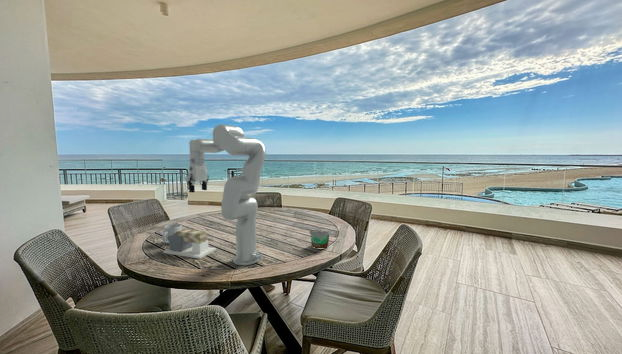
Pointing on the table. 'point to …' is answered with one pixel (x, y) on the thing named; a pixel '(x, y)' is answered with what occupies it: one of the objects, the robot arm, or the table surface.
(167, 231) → the mug
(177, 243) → the cup bracket
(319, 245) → the food container
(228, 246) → the table surface
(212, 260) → the table surface
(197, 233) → the top rail
